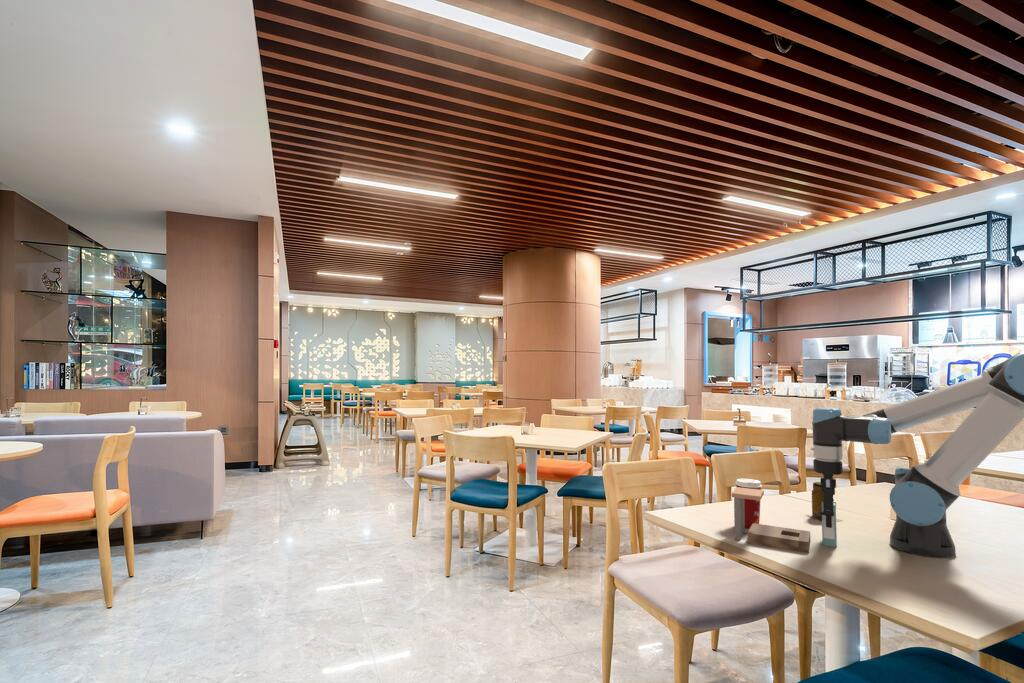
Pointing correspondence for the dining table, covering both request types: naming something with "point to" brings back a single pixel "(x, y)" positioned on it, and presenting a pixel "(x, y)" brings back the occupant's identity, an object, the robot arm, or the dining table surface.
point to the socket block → (779, 537)
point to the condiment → (817, 501)
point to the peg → (834, 541)
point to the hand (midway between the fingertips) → (829, 532)
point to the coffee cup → (750, 502)
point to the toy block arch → (739, 508)
